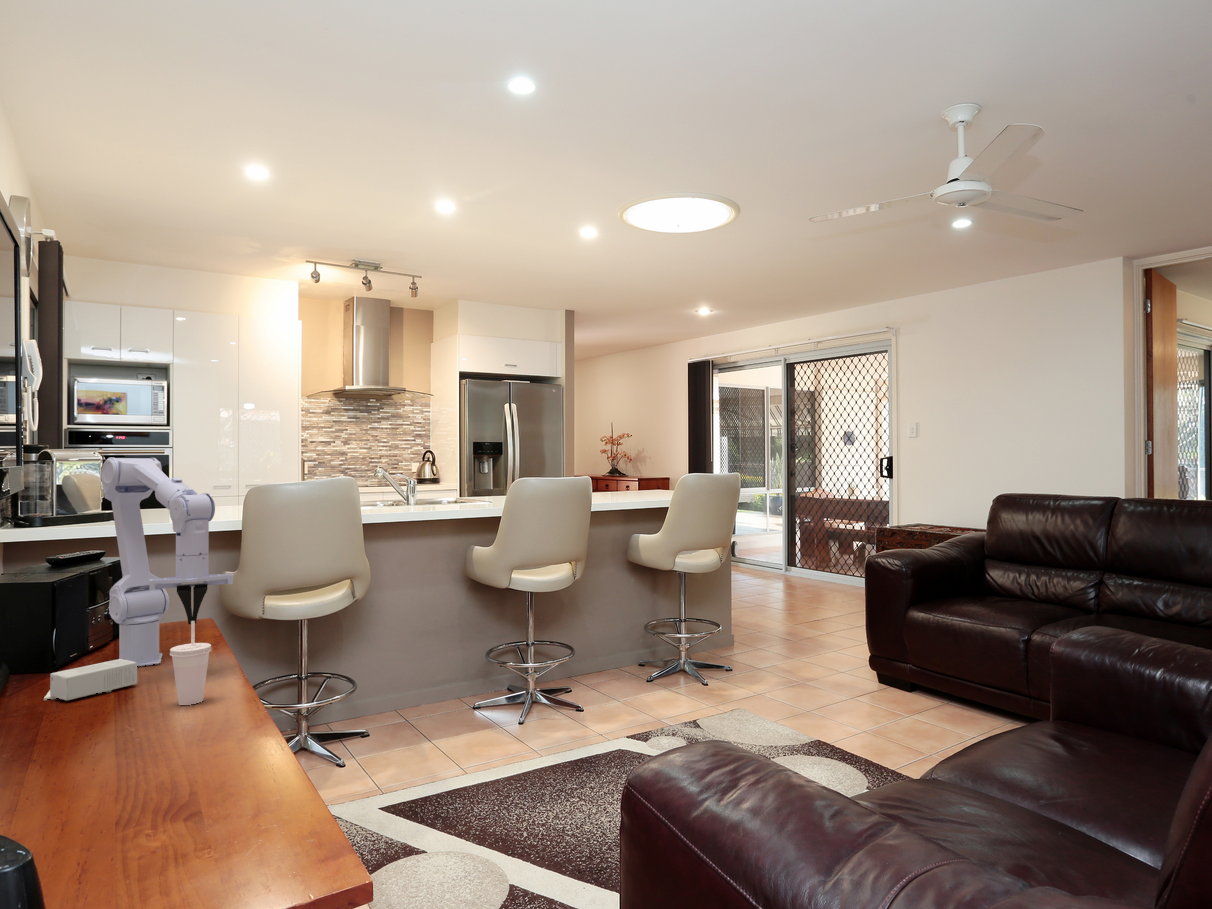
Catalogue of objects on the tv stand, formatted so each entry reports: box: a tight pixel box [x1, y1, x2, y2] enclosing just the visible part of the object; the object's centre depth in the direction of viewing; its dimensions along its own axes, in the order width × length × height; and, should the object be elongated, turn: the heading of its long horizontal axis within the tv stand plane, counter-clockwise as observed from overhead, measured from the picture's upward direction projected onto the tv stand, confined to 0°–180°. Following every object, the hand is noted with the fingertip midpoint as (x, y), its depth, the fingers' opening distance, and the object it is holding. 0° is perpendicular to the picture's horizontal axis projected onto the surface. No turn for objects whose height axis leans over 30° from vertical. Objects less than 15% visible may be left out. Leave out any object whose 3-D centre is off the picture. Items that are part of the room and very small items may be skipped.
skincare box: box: [49, 658, 138, 702], centre depth 136 cm, size 6×4×12 cm
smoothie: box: [169, 621, 212, 706], centre depth 129 cm, size 6×6×14 cm
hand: (192, 623), depth 147 cm, fingers closed
